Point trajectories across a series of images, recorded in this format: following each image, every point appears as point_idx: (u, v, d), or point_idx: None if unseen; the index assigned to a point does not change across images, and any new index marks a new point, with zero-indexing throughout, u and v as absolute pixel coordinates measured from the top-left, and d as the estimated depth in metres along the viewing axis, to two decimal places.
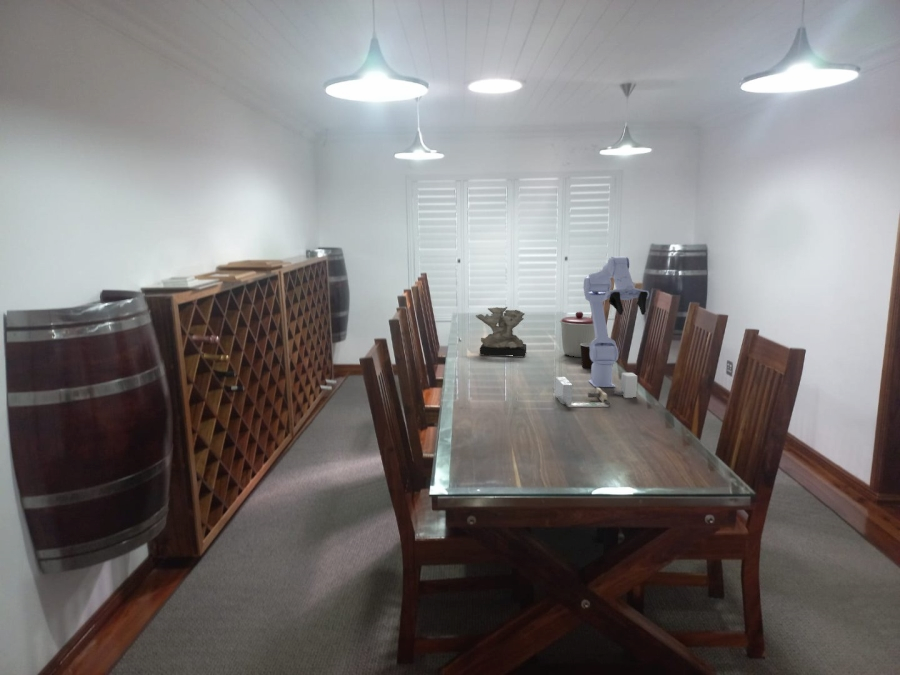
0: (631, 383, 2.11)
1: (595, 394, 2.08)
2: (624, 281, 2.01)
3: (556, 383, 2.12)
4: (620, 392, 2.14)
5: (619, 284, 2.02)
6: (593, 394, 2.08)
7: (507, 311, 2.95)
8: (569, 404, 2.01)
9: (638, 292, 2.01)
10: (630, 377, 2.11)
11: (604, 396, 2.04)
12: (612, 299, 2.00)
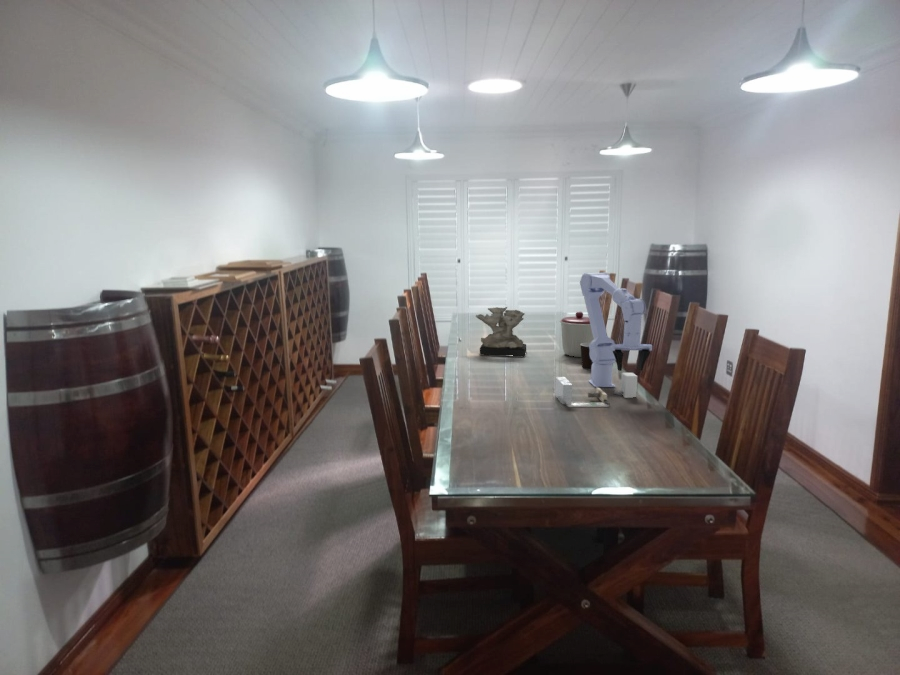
0: (631, 383, 2.11)
1: (595, 394, 2.08)
2: (632, 338, 2.08)
3: (556, 383, 2.12)
4: (620, 392, 2.14)
5: (626, 339, 2.09)
6: (593, 394, 2.08)
7: (507, 311, 2.95)
8: (569, 404, 2.01)
9: None
10: (630, 377, 2.11)
11: (604, 396, 2.04)
12: None
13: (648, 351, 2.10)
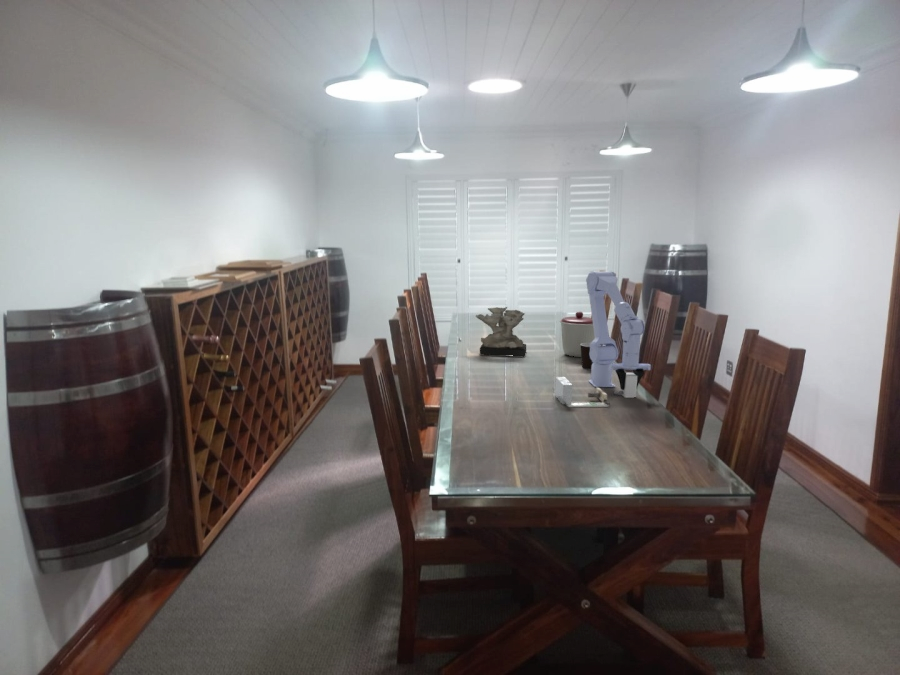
0: (631, 383, 2.11)
1: (595, 394, 2.08)
2: (630, 358, 2.10)
3: (556, 383, 2.12)
4: (620, 392, 2.14)
5: (625, 359, 2.11)
6: (593, 394, 2.08)
7: (507, 311, 2.95)
8: (569, 404, 2.01)
9: None
10: (630, 377, 2.11)
11: (604, 396, 2.04)
12: None
13: None
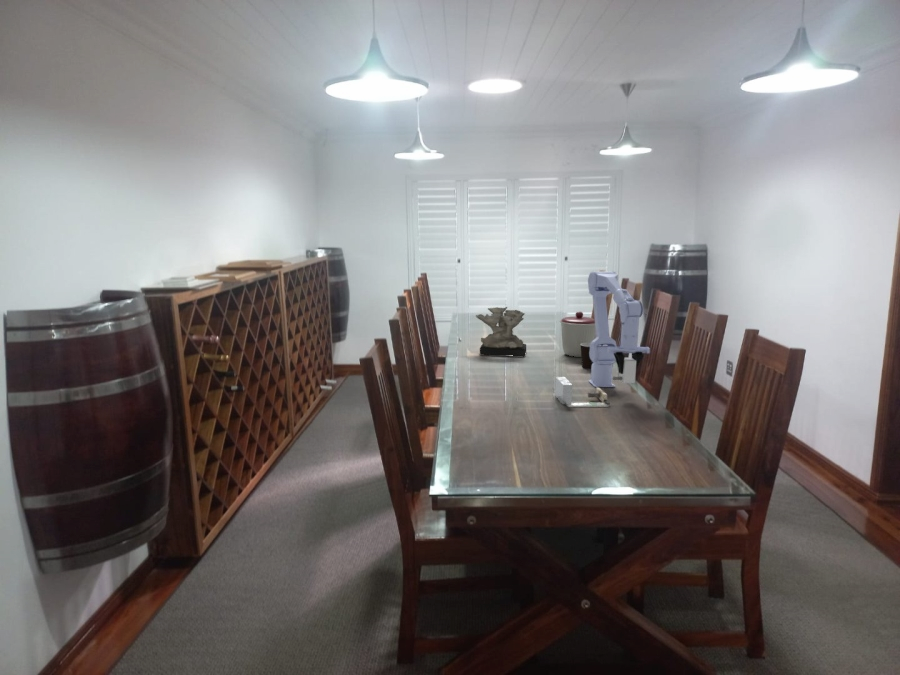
0: (630, 368, 2.06)
1: (595, 394, 2.08)
2: (629, 341, 2.04)
3: (556, 383, 2.12)
4: (618, 377, 2.08)
5: (624, 341, 2.05)
6: (593, 394, 2.08)
7: (507, 311, 2.95)
8: (569, 404, 2.01)
9: None
10: (629, 362, 2.05)
11: (604, 396, 2.04)
12: None
13: None
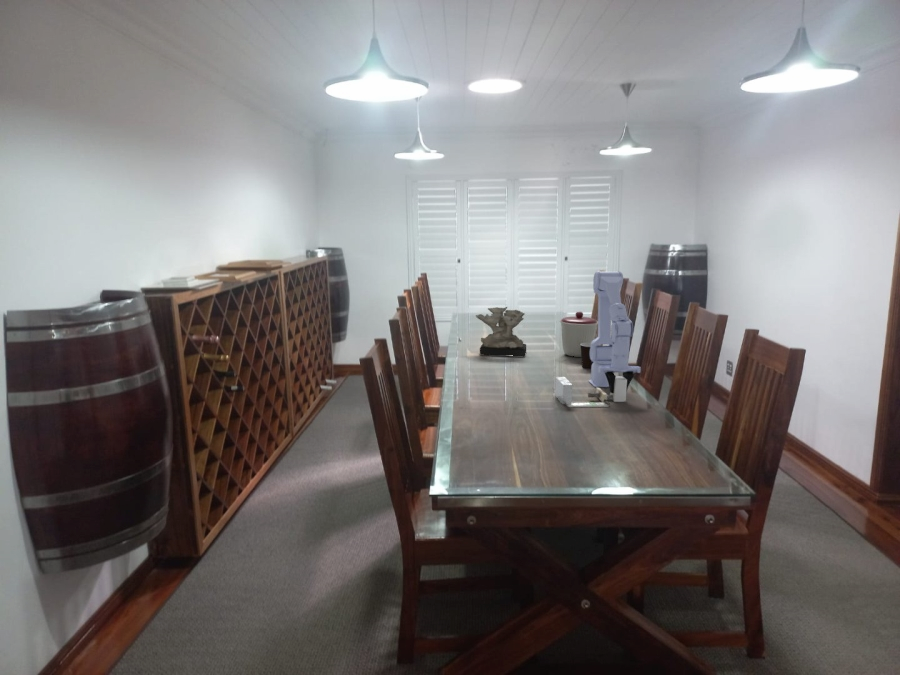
0: (621, 387, 2.06)
1: (595, 394, 2.08)
2: (620, 361, 2.04)
3: (556, 383, 2.12)
4: (609, 396, 2.09)
5: (614, 361, 2.05)
6: (593, 394, 2.08)
7: (507, 311, 2.95)
8: (569, 404, 2.01)
9: None
10: (620, 381, 2.06)
11: (604, 396, 2.04)
12: None
13: None
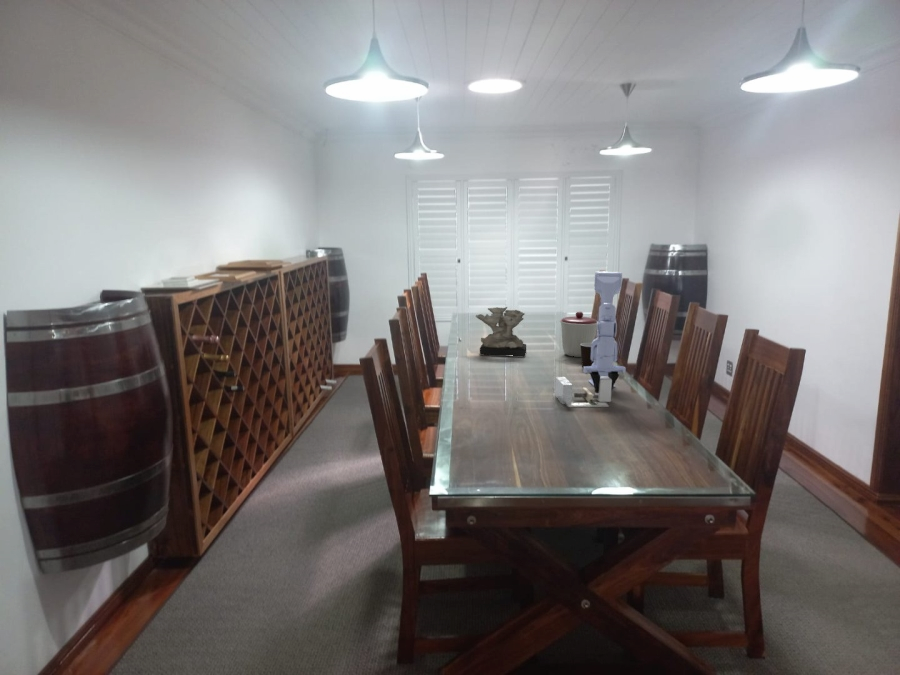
0: (605, 387, 2.06)
1: (581, 394, 2.08)
2: (604, 361, 2.04)
3: (556, 383, 2.12)
4: (594, 396, 2.08)
5: (599, 361, 2.05)
6: (579, 394, 2.08)
7: (507, 311, 2.95)
8: (569, 404, 2.01)
9: None
10: (604, 381, 2.05)
11: (590, 396, 2.04)
12: None
13: None
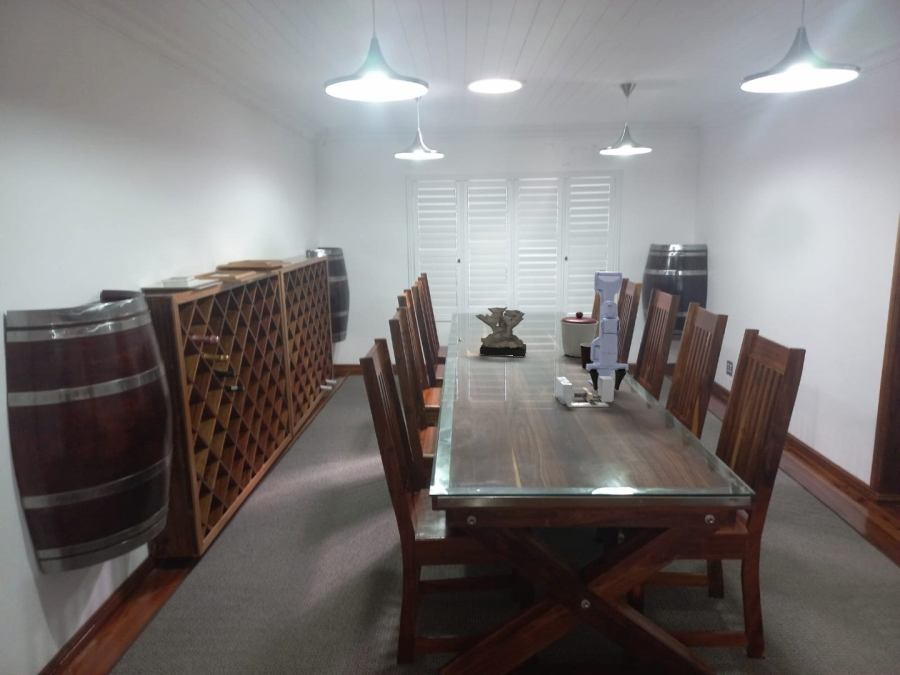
0: (608, 387, 2.06)
1: (581, 394, 2.08)
2: (607, 358, 2.04)
3: (556, 383, 2.12)
4: (597, 396, 2.08)
5: (602, 358, 2.05)
6: (579, 394, 2.08)
7: (507, 311, 2.95)
8: (569, 404, 2.01)
9: None
10: (607, 381, 2.05)
11: (590, 396, 2.04)
12: None
13: (624, 371, 2.06)
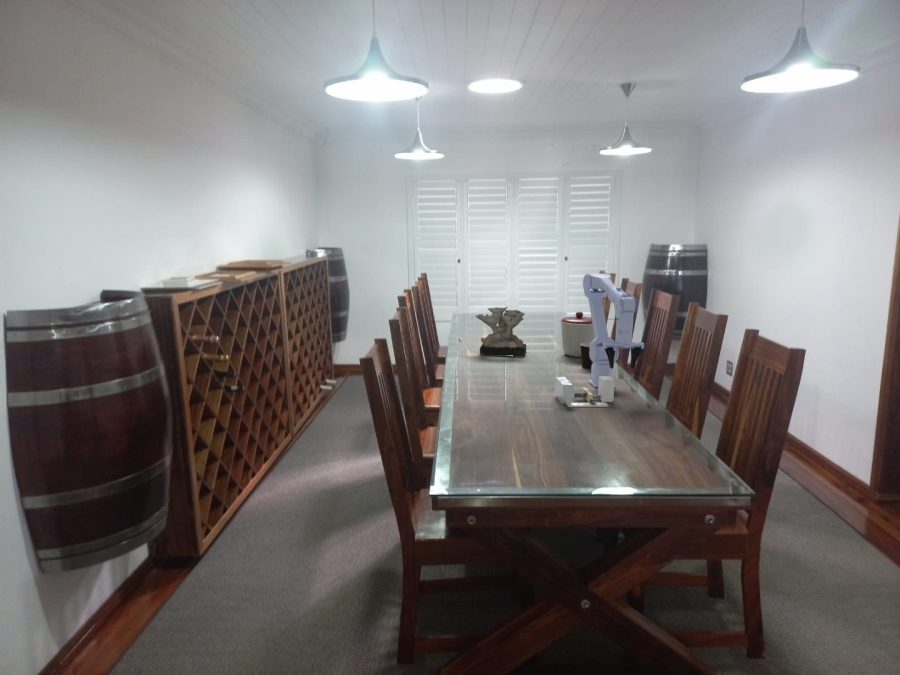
0: (608, 387, 2.06)
1: (581, 394, 2.08)
2: (623, 336, 2.08)
3: (556, 383, 2.12)
4: (597, 396, 2.08)
5: (618, 337, 2.09)
6: (579, 394, 2.08)
7: (507, 311, 2.95)
8: (569, 404, 2.01)
9: None
10: (607, 381, 2.05)
11: (590, 396, 2.04)
12: None
13: (640, 349, 2.10)
